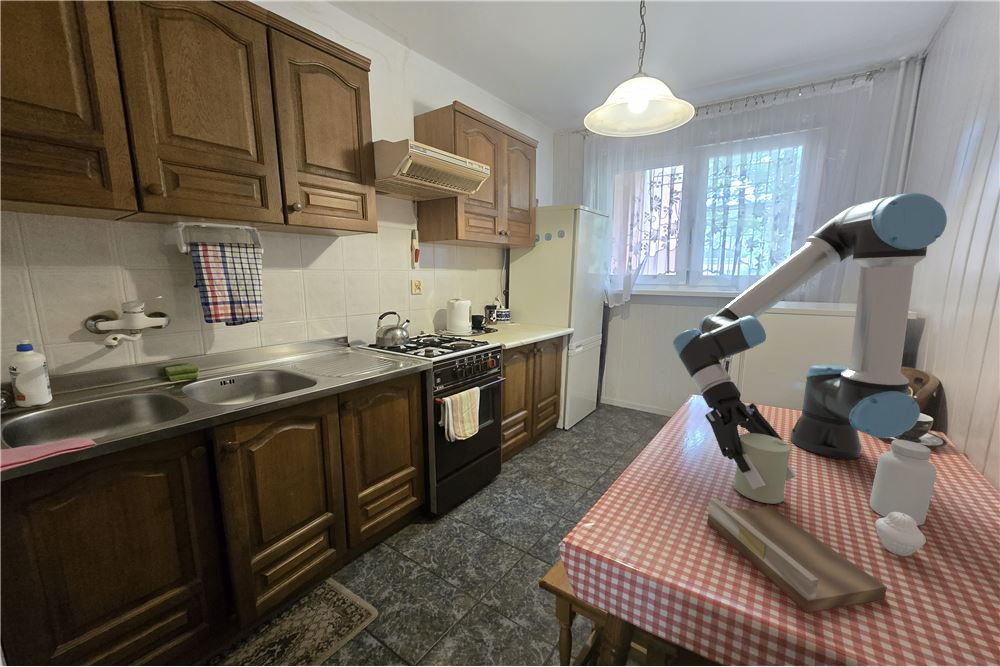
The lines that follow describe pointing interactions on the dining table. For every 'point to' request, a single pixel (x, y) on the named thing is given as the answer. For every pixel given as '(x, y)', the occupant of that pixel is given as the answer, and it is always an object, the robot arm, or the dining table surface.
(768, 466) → the can
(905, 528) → the muffin
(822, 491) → the dining table surface
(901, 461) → the pill bottle
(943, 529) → the dining table surface
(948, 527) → the dining table surface
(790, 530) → the shelf
